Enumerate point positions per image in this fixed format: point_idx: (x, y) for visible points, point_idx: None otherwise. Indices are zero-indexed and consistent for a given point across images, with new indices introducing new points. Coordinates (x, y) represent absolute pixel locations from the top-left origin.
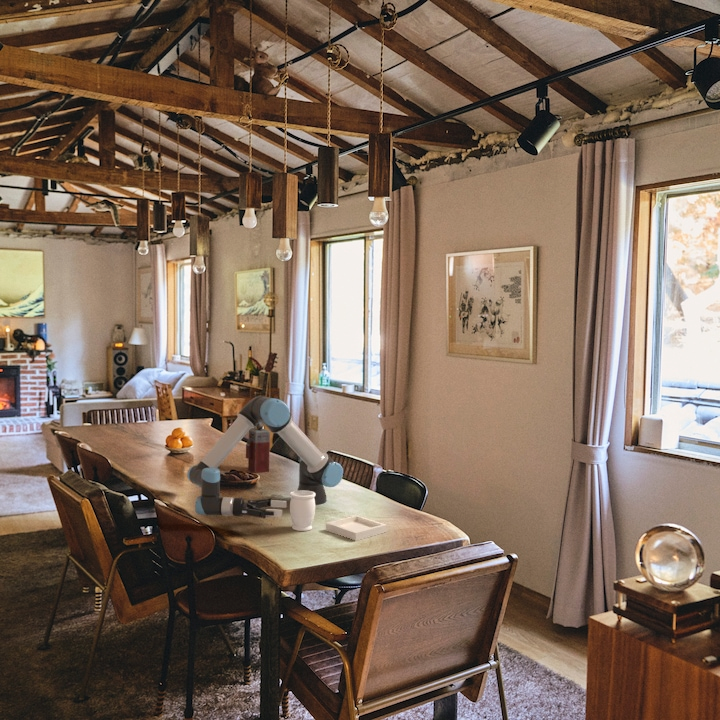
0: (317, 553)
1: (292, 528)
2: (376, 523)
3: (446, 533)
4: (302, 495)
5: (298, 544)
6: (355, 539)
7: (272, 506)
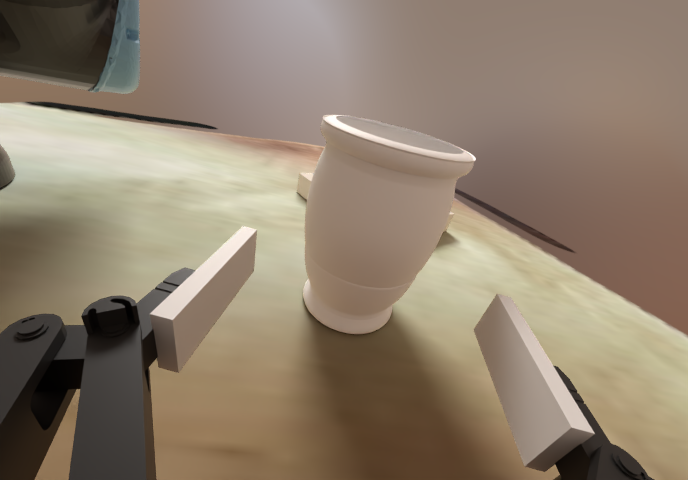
0: (597, 316)
1: (363, 333)
2: None
3: None
4: (323, 150)
5: (557, 351)
6: (447, 227)
7: (189, 351)
